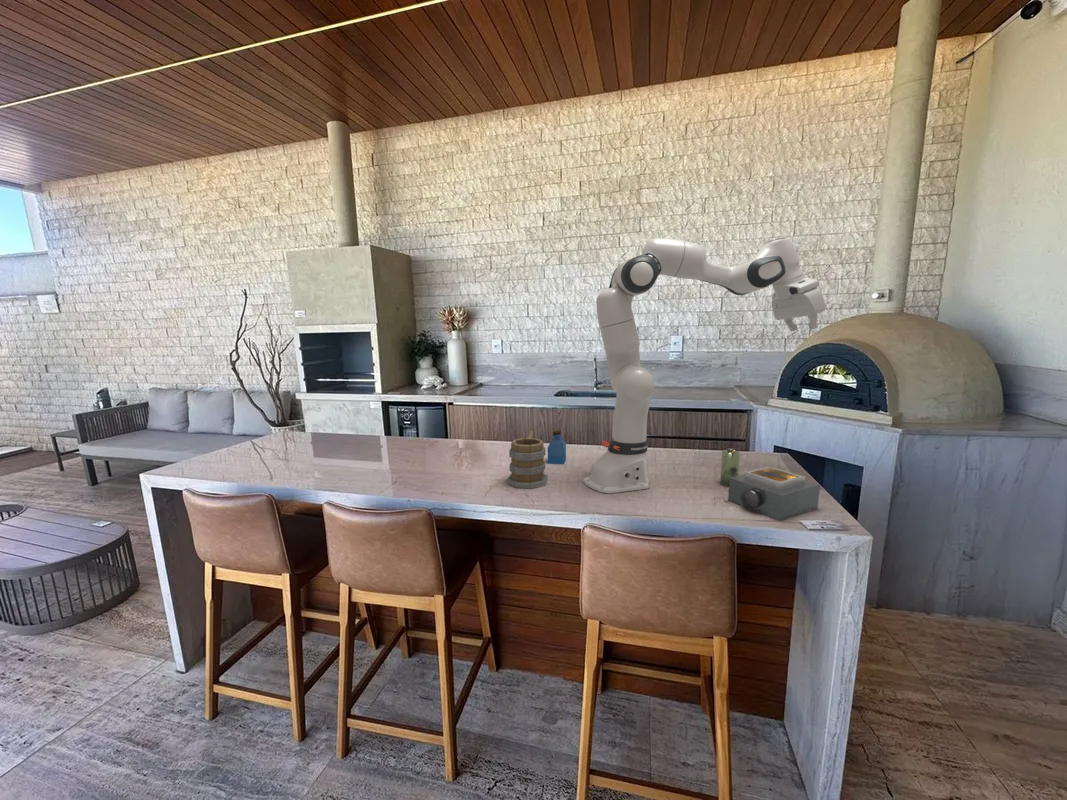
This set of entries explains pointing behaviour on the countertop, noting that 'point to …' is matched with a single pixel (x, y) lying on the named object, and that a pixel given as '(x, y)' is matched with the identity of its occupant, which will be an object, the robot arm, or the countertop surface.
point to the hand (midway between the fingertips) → (803, 329)
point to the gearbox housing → (774, 492)
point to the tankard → (527, 463)
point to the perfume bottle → (557, 449)
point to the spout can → (729, 465)
